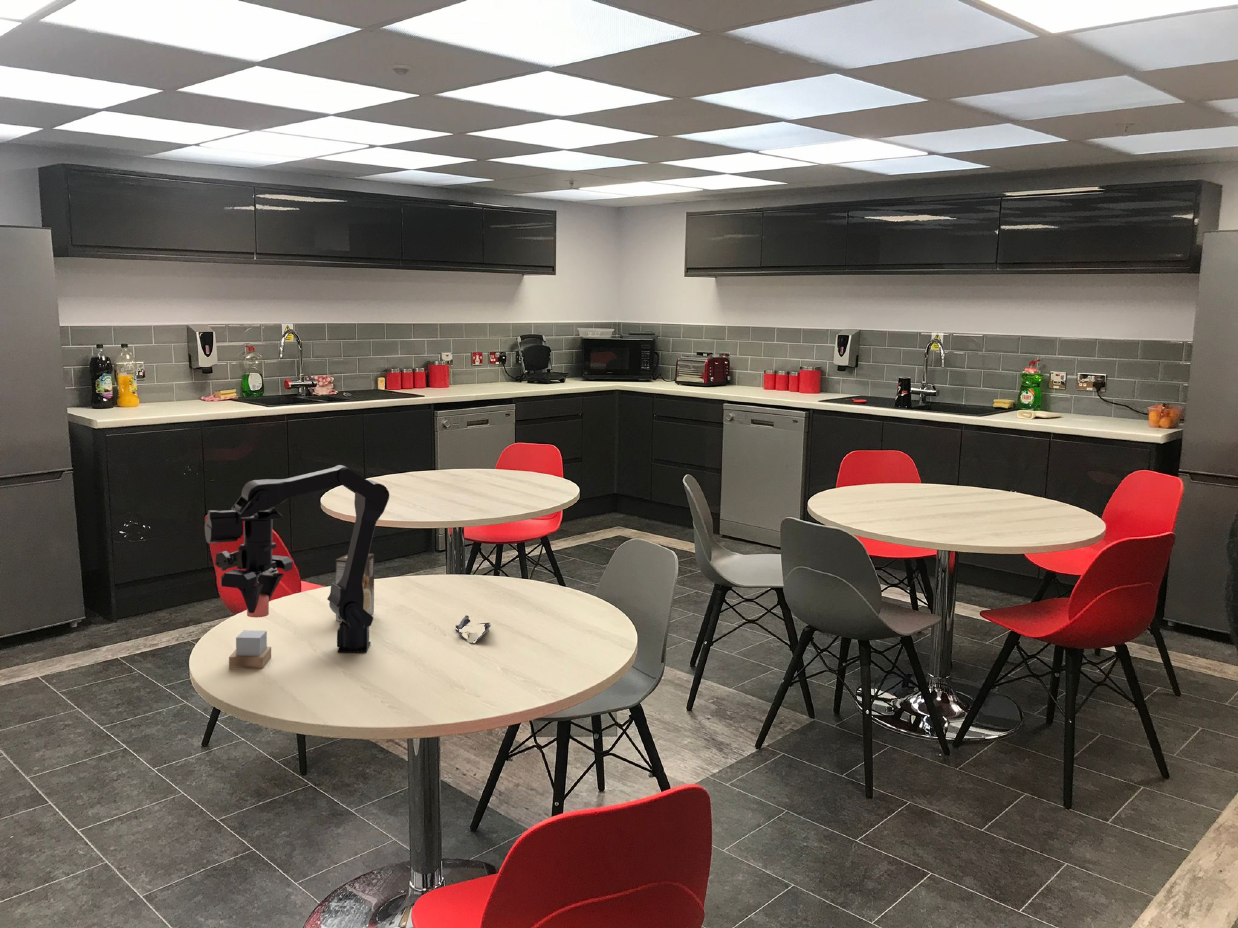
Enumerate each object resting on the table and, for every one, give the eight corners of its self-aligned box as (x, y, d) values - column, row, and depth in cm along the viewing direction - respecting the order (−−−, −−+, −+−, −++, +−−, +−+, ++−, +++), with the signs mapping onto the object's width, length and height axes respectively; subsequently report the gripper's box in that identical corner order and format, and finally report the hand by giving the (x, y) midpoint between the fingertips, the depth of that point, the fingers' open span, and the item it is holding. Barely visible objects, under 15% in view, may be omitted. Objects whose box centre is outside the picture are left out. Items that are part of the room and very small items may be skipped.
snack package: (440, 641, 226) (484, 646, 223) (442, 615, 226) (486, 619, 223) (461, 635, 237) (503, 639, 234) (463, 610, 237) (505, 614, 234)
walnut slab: (271, 659, 208) (271, 646, 208) (262, 670, 201) (262, 657, 201) (238, 659, 208) (238, 646, 207) (229, 670, 201) (229, 656, 200)
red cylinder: (270, 611, 205) (271, 594, 204) (265, 617, 201) (266, 599, 200) (250, 611, 204) (250, 593, 204) (244, 617, 200) (244, 599, 199)
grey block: (266, 648, 207) (266, 630, 206) (259, 655, 202) (259, 637, 201) (243, 647, 206) (243, 630, 206) (236, 655, 202) (236, 637, 201)
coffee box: (352, 610, 245) (352, 551, 243) (374, 613, 244) (375, 553, 241) (334, 620, 236) (335, 559, 234) (358, 623, 235) (358, 561, 232)
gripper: (249, 528, 211) (248, 594, 213) (197, 544, 193) (197, 617, 195) (294, 532, 209) (293, 600, 211) (246, 549, 191) (245, 623, 193)
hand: (257, 609), depth 202 cm, fingers closed on red cylinder, 4 cm apart
